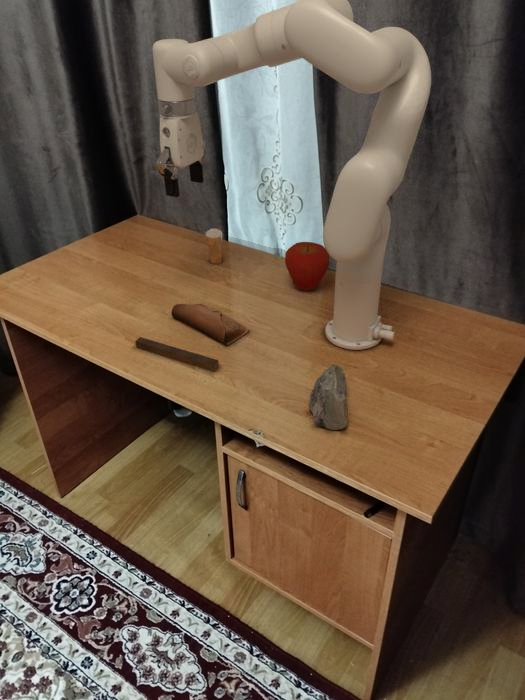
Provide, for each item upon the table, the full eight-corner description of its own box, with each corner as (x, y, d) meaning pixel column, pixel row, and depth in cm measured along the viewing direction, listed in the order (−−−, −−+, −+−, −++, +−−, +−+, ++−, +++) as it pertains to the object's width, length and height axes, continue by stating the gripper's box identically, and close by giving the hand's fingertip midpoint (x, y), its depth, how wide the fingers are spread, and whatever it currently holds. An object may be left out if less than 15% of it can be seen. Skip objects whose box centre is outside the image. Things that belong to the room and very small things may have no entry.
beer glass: (203, 259, 160) (200, 225, 155) (221, 256, 162) (219, 222, 156) (206, 266, 157) (204, 231, 151) (225, 263, 158) (223, 229, 152)
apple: (278, 282, 149) (278, 238, 142) (316, 274, 152) (317, 231, 145) (295, 302, 140) (296, 257, 133) (335, 293, 143) (338, 249, 136)
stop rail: (219, 367, 120) (218, 360, 118) (214, 371, 118) (213, 364, 117) (141, 343, 127) (140, 336, 126) (136, 347, 126) (135, 340, 125)
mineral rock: (329, 379, 115) (332, 338, 109) (376, 401, 110) (381, 359, 104) (289, 413, 107) (290, 370, 102) (337, 438, 102) (340, 395, 96)
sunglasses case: (251, 328, 130) (240, 313, 125) (234, 353, 128) (221, 339, 123) (197, 303, 140) (184, 287, 135) (180, 325, 138) (166, 311, 133)
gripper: (168, 119, 111) (177, 204, 121) (214, 100, 123) (219, 179, 133) (136, 115, 114) (148, 199, 124) (185, 97, 126) (192, 174, 136)
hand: (185, 188), depth 128 cm, fingers open, 9 cm apart
